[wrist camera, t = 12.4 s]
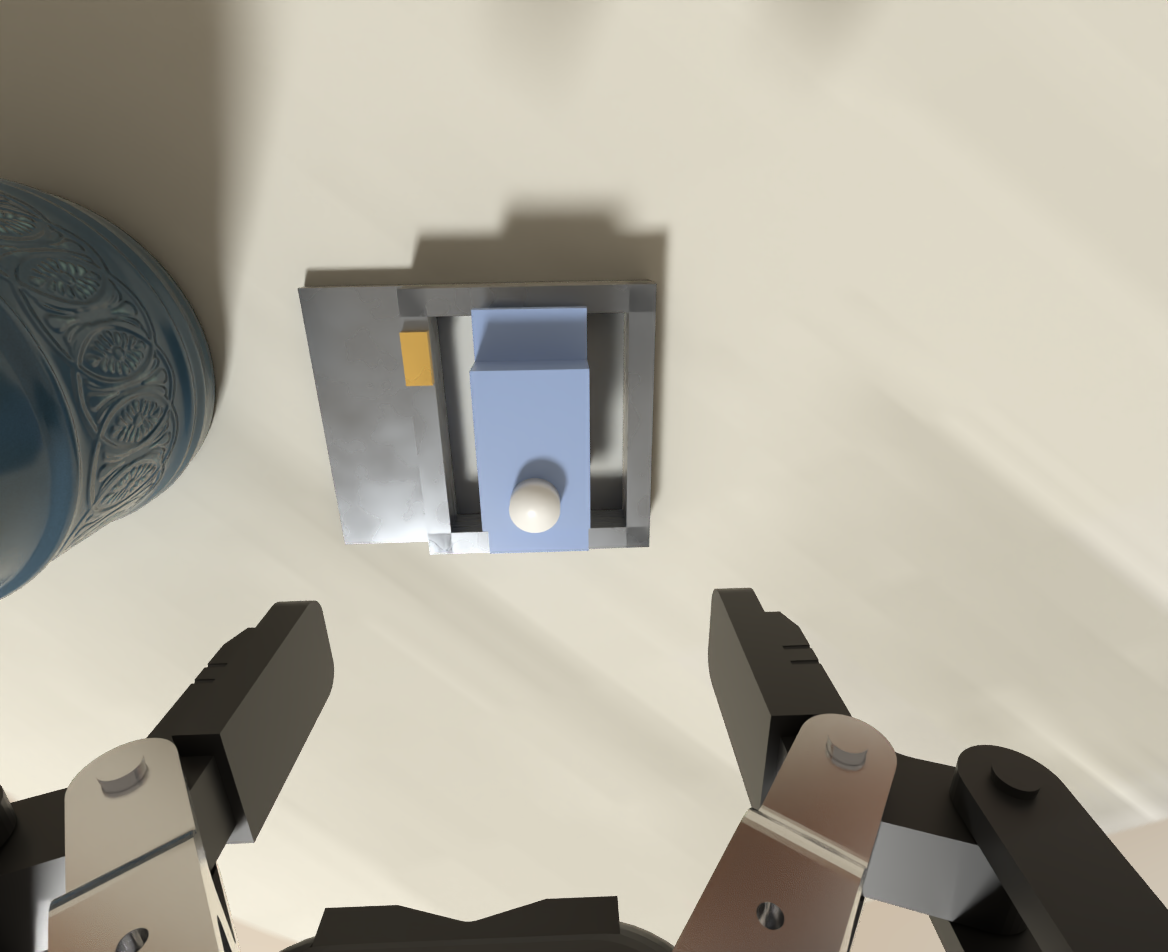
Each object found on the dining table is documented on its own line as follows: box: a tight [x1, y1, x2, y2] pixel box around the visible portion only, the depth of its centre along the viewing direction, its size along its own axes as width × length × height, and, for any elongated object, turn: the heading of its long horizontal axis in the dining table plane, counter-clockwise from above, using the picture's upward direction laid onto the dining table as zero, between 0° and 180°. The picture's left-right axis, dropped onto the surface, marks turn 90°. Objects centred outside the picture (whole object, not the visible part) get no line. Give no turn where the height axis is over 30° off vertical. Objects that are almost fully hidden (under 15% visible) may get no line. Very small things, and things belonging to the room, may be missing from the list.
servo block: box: [469, 306, 590, 553], centre depth 23 cm, size 4×10×6 cm, turn 1°
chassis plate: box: [298, 280, 656, 554], centre depth 25 cm, size 14×11×2 cm
